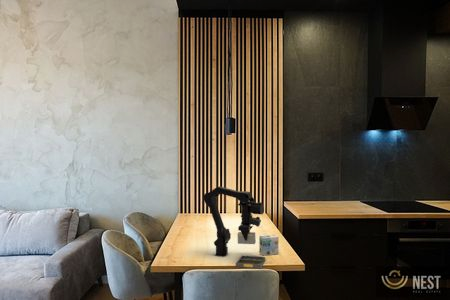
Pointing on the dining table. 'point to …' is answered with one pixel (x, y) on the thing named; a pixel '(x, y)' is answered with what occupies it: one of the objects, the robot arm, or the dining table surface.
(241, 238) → the panel
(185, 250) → the dining table surface
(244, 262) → the grey shallow square tray
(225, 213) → the dining table surface
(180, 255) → the dining table surface
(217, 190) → the robot arm
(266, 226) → the dining table surface
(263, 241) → the light bulb box
